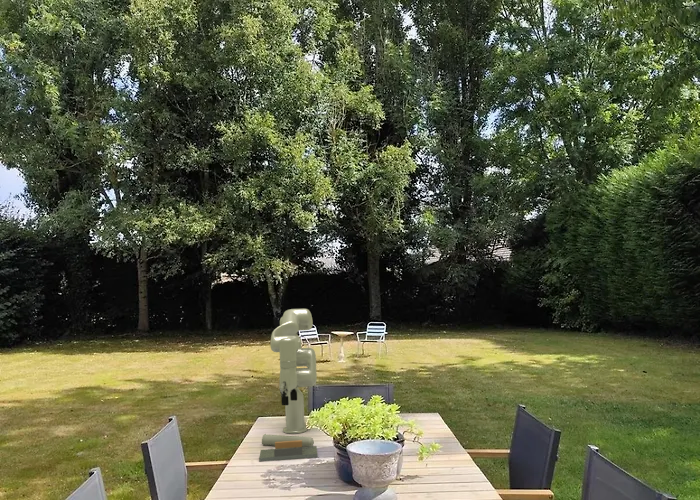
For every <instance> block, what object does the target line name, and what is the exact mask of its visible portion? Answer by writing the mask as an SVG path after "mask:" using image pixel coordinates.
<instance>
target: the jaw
mask: <svg viewBox="0 0 700 500" xmlns="http://www.w3.org/2000/svg"><path fill="white" fill-rule="evenodd" d="M293 447H302V440H297V441H283V442H275V446H274V449H279V448H293Z"/></svg>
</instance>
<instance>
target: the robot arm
mask: <svg viewBox="0 0 700 500" xmlns="http://www.w3.org/2000/svg"><path fill="white" fill-rule="evenodd" d="M313 324H314V323H313V317H312V313H311V311H310V309H308V308H291V309H287V310H285V311H284V312H283V315H282V316H281V317H280V320H279V326H277V327H276V328H275V329H273V331H272V332H271V336H270V345H269V346H270V349H271V351H272V352H273V353H279V369H280V370H279V391H280V396H281V399H280V400H281V406H284V407H285V409H284V410H285V427H284V428H283V429H282V432H283V433H285V434H289V435H290V434H301V433H305V432H308V430H307V429H306V425H305V424H306V422H305V401H304V400H305V399H304V394H303V392H302V391H301V390H300V388H306V387H314V386H316V385H317V377H318V376H317V357H316V351H315V350H314V348H313V347H302V339H301V337H300V336H299V335H298V332H299V331H309V330H311V329H312V328H313ZM301 367H302V368H301Z"/></svg>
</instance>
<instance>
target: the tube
mask: <svg viewBox="0 0 700 500" xmlns="http://www.w3.org/2000/svg"><path fill="white" fill-rule="evenodd" d="M297 440H302V447H308V446H314V444H315V442H314V438H313V437H312V436H301V435H300V436H299V435H286V434H285V435H281V434H267V433H265V434H262V438H261V444H262V446H273V447H275V442H283V441H297Z"/></svg>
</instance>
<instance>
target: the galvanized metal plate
mask: <svg viewBox="0 0 700 500" xmlns="http://www.w3.org/2000/svg"><path fill="white" fill-rule="evenodd" d="M318 457H319V455H318V447H317V445H313V446H308V447H293V448H279V449H275V448H268V449H267V448H266V449H260V453H259V457H258V459H259V460H258V461H259V462H273V461H285V460H287V461H289V460H298V459H299V460H301V459H313V458H318Z"/></svg>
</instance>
